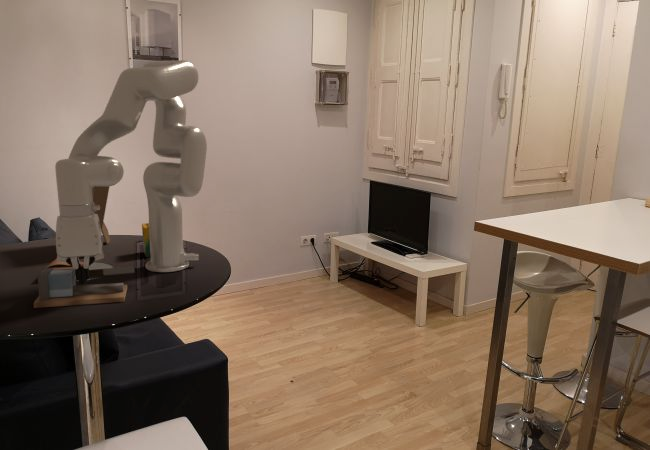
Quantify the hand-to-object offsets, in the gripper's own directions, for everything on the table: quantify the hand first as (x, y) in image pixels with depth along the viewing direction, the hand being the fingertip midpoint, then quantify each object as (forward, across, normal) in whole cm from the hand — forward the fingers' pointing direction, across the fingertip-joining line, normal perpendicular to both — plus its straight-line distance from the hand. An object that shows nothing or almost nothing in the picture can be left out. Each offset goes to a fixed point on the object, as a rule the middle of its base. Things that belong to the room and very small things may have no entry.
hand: (83, 282), depth 131 cm
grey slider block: (+2, +5, 0) cm, 5 cm away
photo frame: (+5, +3, -52) cm, 52 cm away
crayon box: (+5, -15, -40) cm, 43 cm away
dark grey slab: (+3, +8, 0) cm, 9 cm away
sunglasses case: (+5, +8, -24) cm, 26 cm away
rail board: (+4, 0, 0) cm, 4 cm away
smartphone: (+5, -4, -21) cm, 22 cm away
